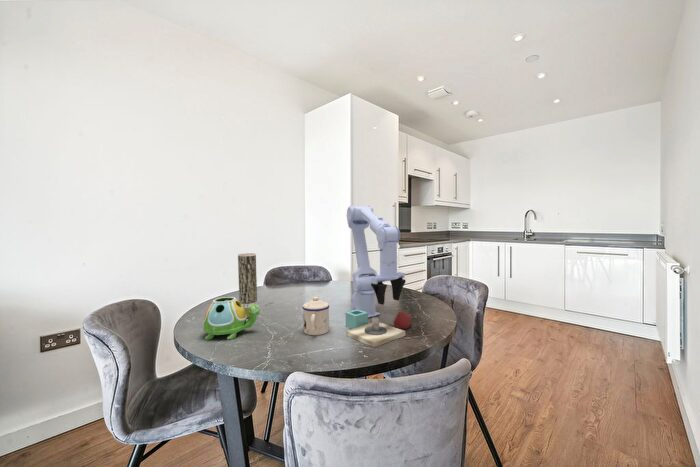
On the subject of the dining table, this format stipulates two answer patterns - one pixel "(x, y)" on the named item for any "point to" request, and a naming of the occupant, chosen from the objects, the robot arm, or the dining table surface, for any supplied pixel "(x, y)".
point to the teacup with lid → (316, 317)
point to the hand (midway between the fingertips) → (388, 301)
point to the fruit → (402, 320)
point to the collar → (356, 319)
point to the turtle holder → (228, 317)
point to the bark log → (247, 280)
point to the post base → (375, 333)
